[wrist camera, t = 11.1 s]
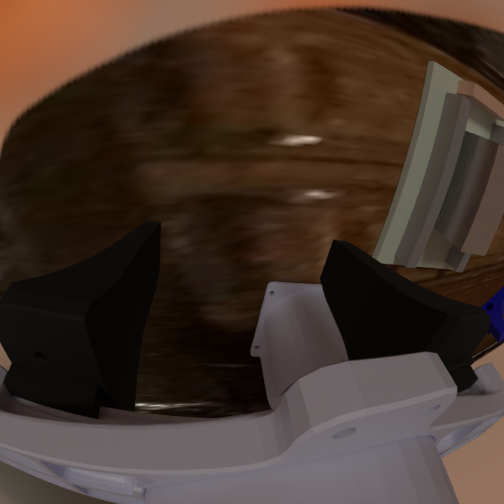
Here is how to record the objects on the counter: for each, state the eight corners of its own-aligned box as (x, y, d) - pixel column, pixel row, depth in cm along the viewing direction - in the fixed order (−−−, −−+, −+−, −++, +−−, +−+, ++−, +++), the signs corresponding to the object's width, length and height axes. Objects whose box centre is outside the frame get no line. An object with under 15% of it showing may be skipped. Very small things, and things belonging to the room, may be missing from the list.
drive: (453, 228, 23) (485, 255, 19) (426, 222, 23) (460, 251, 18) (482, 142, 19) (520, 159, 15) (456, 127, 18) (499, 143, 14)
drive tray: (453, 266, 27) (467, 280, 25) (371, 257, 25) (385, 276, 22) (505, 115, 18) (524, 121, 16) (428, 61, 16) (450, 62, 13)
